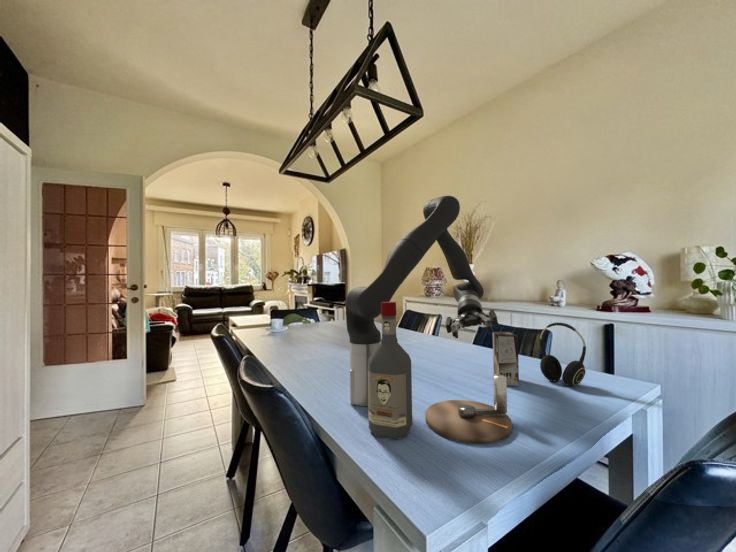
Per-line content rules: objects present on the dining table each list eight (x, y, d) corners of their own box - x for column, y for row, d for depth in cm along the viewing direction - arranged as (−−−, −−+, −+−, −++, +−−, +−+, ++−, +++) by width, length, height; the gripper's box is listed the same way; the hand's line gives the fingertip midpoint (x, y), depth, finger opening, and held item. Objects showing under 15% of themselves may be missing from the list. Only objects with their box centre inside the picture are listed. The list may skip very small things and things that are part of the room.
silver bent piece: (461, 418, 74) (460, 380, 74) (456, 411, 78) (455, 375, 78) (510, 416, 74) (509, 378, 75) (502, 409, 78) (501, 373, 79)
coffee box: (519, 386, 100) (518, 336, 100) (498, 385, 101) (497, 335, 101) (512, 377, 109) (511, 331, 109) (493, 376, 110) (492, 331, 110)
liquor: (379, 418, 79) (376, 300, 79) (414, 423, 76) (411, 301, 76) (365, 435, 70) (363, 303, 71) (404, 442, 67) (402, 304, 67)
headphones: (548, 375, 111) (546, 319, 111) (594, 387, 97) (592, 324, 98) (532, 379, 106) (531, 321, 107) (579, 392, 93) (577, 326, 94)
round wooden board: (437, 446, 65) (437, 437, 65) (417, 406, 85) (417, 400, 85) (529, 441, 66) (529, 433, 66) (488, 404, 86) (488, 397, 86)
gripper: (444, 302, 100) (442, 324, 85) (490, 294, 95) (497, 316, 80) (449, 323, 102) (448, 348, 87) (495, 316, 97) (502, 341, 82)
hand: (472, 333), depth 84 cm, fingers open, 8 cm apart
